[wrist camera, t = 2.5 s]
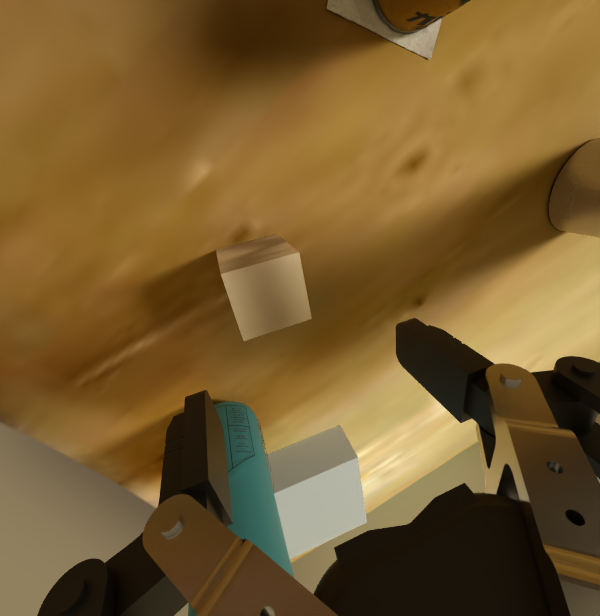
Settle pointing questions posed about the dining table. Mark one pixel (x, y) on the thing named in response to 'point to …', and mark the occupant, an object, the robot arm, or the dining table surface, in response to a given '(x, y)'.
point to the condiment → (400, 19)
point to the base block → (317, 490)
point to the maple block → (264, 285)
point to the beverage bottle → (250, 485)
